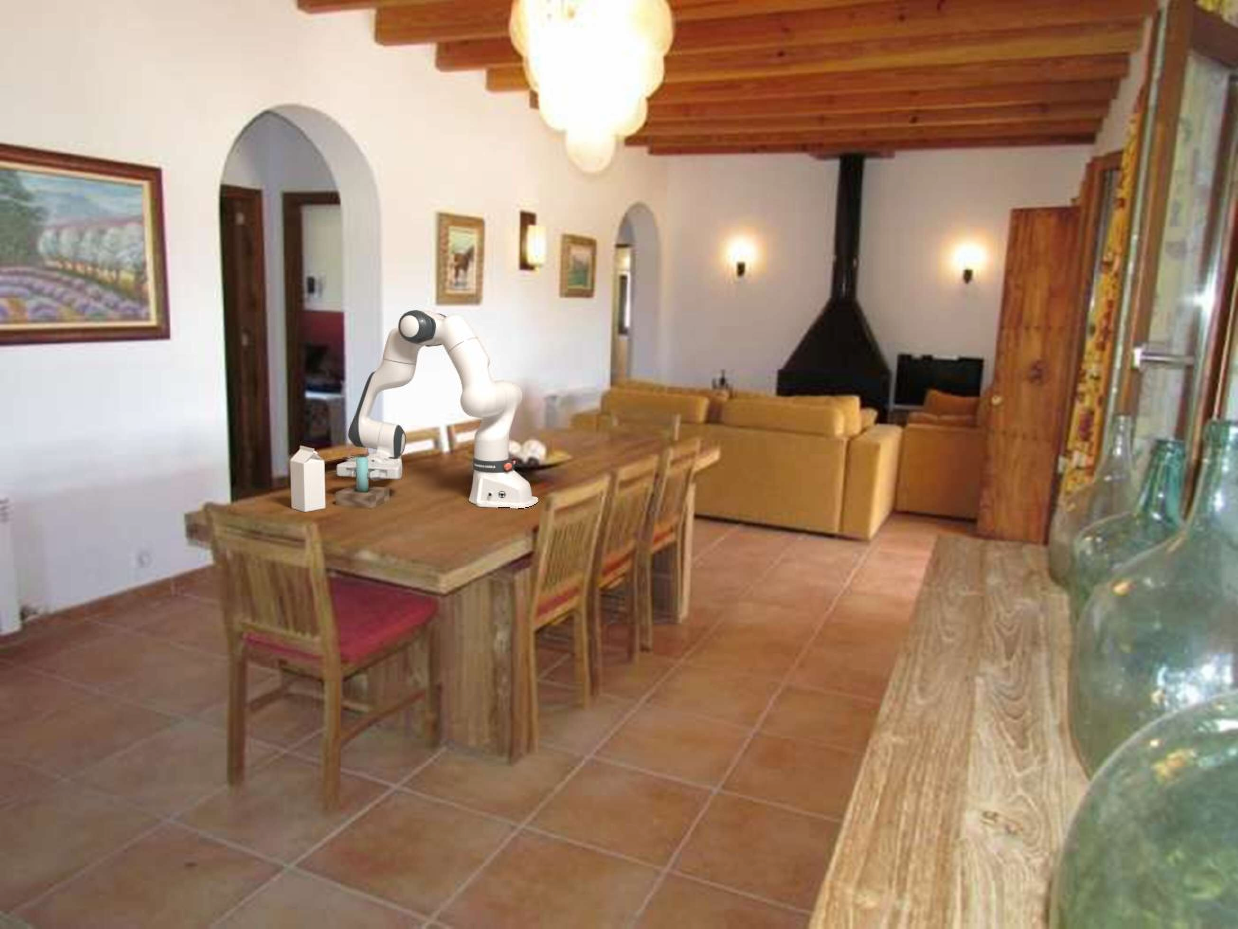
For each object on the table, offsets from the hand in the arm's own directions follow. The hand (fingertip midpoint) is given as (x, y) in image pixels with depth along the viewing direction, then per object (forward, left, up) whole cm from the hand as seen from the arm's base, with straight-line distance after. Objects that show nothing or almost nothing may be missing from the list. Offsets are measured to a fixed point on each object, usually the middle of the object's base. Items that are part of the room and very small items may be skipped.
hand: (361, 475), depth 274 cm
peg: (0, -1, -7) cm, 7 cm away
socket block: (0, -1, -9) cm, 9 cm away
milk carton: (+11, +12, -9) cm, 19 cm away
